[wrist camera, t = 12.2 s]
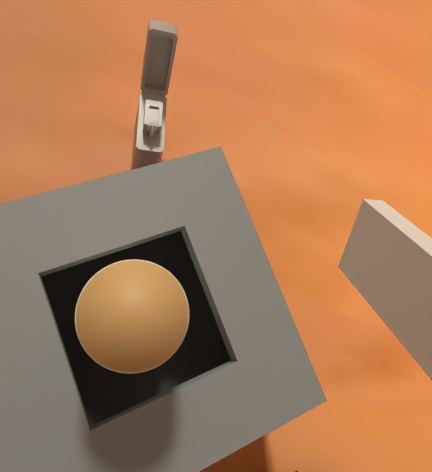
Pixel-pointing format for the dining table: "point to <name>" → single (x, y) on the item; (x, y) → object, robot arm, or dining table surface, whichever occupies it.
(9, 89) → the dining table surface
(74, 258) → the gray square-hole box
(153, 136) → the lighter
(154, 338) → the coin roll
